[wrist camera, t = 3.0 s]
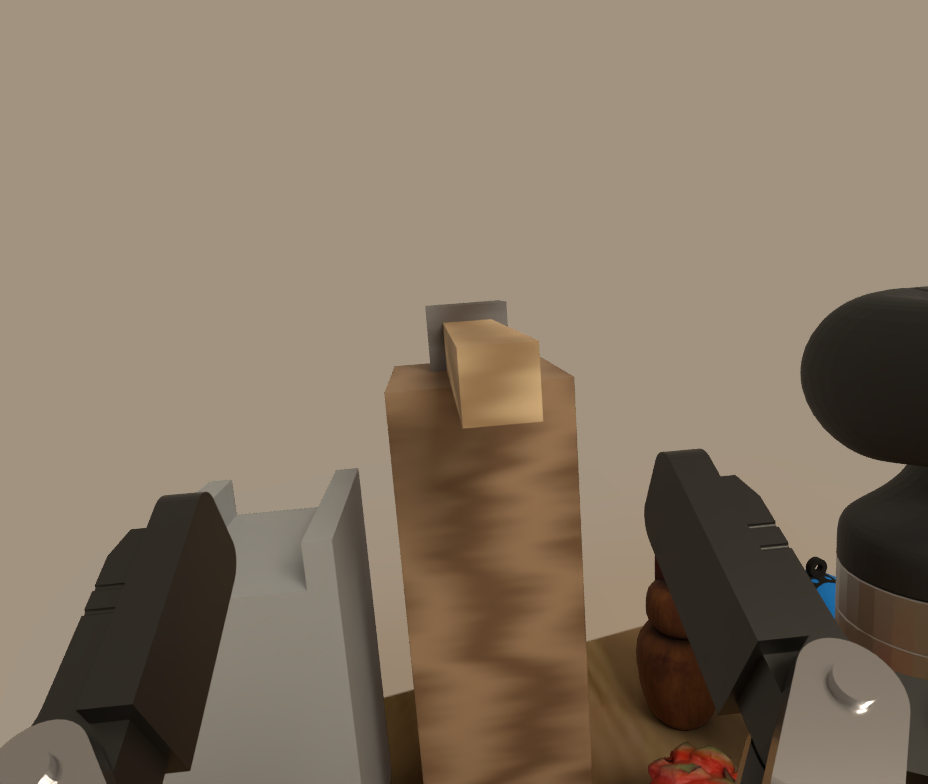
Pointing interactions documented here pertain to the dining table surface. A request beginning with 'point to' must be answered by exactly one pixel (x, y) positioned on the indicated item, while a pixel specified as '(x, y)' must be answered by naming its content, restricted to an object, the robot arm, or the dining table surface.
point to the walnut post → (492, 584)
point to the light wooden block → (486, 363)
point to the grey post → (296, 651)
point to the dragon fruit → (693, 767)
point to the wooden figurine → (670, 664)
